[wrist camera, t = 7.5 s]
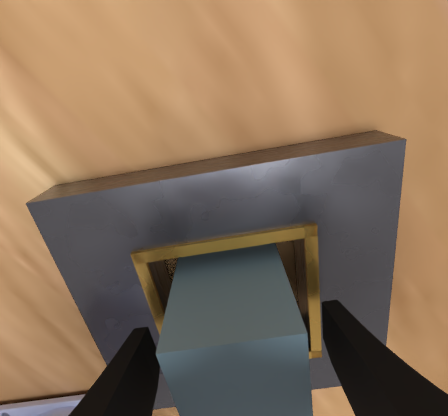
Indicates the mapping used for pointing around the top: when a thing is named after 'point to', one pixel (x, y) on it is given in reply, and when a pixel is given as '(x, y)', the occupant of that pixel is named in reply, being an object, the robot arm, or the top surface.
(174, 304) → the peg
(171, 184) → the square hole plate
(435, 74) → the top surface
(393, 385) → the robot arm
